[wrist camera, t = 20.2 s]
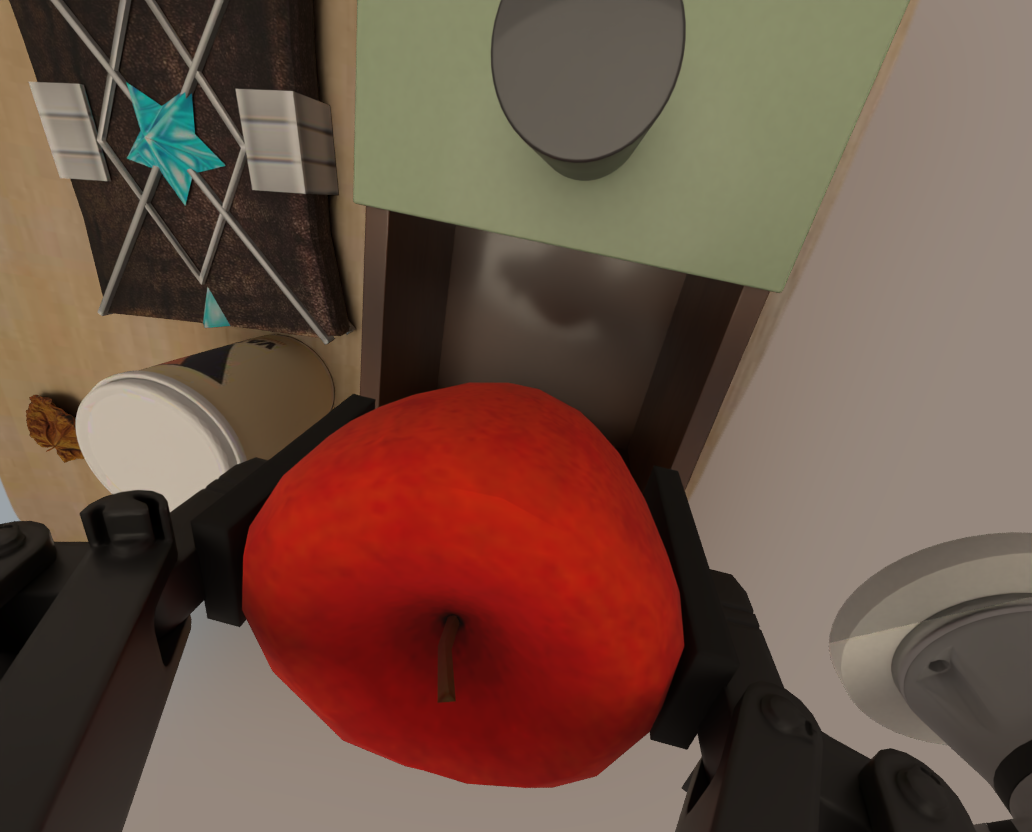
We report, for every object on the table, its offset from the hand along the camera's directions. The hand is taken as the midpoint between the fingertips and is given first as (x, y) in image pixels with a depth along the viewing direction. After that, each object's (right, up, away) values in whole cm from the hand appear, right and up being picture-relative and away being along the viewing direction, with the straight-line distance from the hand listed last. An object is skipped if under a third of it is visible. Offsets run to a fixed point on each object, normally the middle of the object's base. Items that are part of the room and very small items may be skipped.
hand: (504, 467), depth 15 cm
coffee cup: (-17, +4, +20) cm, 27 cm away
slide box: (+3, +9, +14) cm, 17 cm away
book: (-18, +19, +14) cm, 30 cm away
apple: (0, 0, 0) cm, 0 cm away
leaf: (-39, +1, +26) cm, 47 cm away
